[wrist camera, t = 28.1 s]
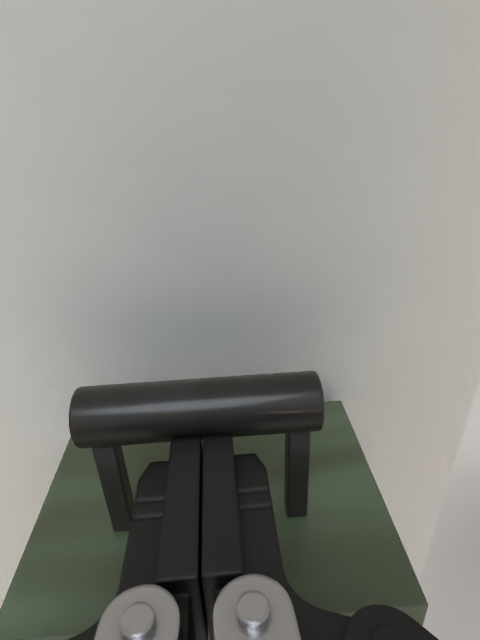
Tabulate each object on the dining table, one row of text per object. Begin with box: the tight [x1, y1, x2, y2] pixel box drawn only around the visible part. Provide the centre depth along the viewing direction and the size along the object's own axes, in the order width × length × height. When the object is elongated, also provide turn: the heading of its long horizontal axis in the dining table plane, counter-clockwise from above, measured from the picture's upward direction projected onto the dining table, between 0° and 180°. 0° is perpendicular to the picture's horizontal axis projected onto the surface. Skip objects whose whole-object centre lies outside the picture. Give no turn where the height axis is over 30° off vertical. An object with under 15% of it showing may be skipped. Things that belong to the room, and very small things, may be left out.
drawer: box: [0, 371, 428, 640], centre depth 16 cm, size 21×10×8 cm, turn 2°
